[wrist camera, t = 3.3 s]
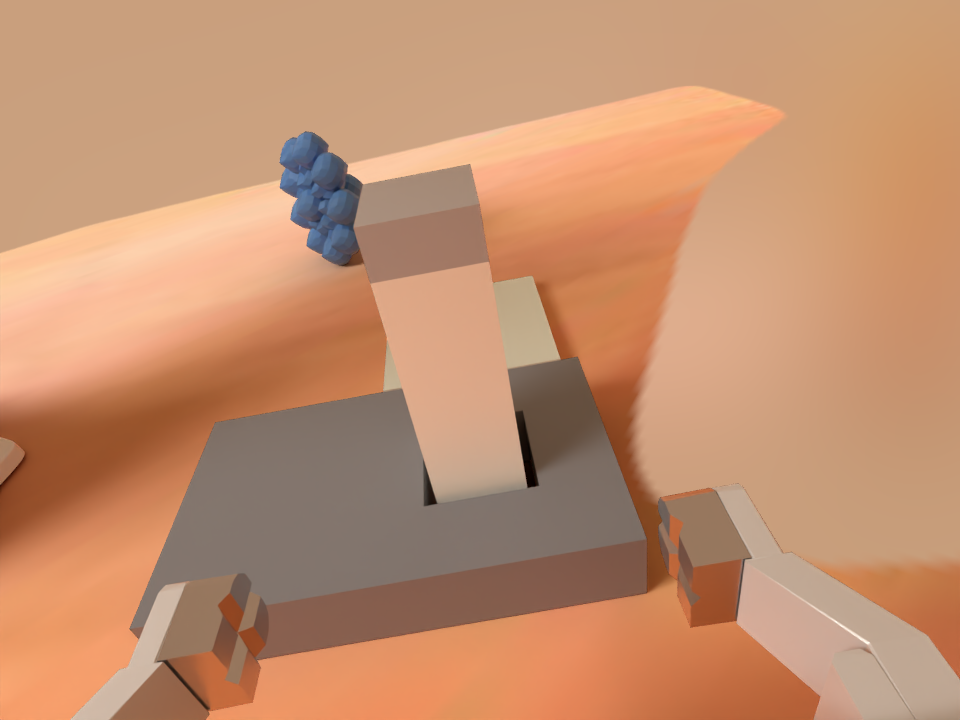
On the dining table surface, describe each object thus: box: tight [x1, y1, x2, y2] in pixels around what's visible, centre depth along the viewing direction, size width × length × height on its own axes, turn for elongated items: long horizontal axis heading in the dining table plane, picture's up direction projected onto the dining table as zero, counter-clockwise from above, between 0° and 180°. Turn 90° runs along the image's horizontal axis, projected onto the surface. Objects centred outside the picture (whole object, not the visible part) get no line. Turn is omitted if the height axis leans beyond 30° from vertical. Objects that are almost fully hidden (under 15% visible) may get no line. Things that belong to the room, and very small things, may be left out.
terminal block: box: [130, 357, 647, 660], centre depth 29 cm, size 20×12×4 cm, turn 95°
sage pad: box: [383, 276, 561, 392], centre depth 42 cm, size 11×11×1 cm
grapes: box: [280, 132, 363, 265], centre depth 52 cm, size 12×7×12 cm, turn 40°
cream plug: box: [353, 164, 527, 504], centre depth 25 cm, size 4×4×16 cm
